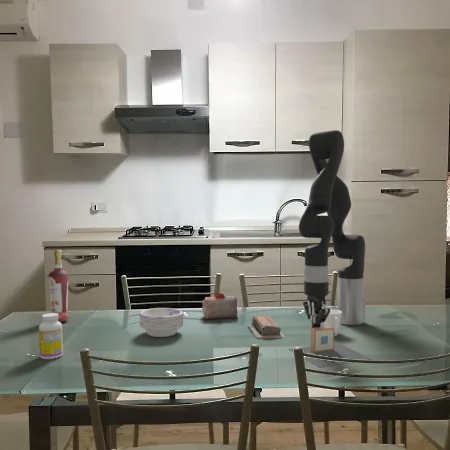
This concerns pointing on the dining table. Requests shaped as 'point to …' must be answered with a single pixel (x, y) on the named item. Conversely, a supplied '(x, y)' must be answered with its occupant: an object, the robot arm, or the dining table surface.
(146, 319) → the paper bowls
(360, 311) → the robot arm
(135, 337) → the dining table surface
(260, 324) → the packaged product
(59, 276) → the liquor
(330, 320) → the cup
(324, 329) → the tile
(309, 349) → the mat
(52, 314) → the supplement bottle
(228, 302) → the food item
